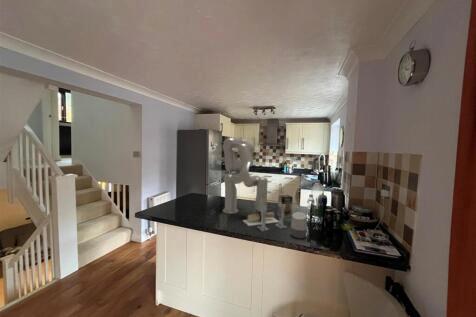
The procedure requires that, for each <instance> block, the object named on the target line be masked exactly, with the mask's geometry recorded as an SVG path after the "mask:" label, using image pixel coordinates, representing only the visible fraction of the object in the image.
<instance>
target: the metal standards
mask: <svg viewBox="0 0 476 317" xmlns="http://www.w3.org/2000/svg"><path fill="white" fill-rule="evenodd" d="M285 206H286V204H282V202H277V208H278V207H280V213H279V216H278V221H279V222H276V223H275V226H276V227H278V228H279V229H285V228H288V226H287V225H286V224H285V223H284V219H285V218H284V209H285ZM260 208H261V225H256V226H257V229H258V230H259V231H261V232H264V231H269V228H268V227H267V226H266V224H265V216H266V213H267V211H268V205H267V206H264V204H260Z"/></svg>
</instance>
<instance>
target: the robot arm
mask: <svg viewBox="0 0 476 317" xmlns="http://www.w3.org/2000/svg"><path fill="white" fill-rule="evenodd" d="M234 149H237V152H238V155H239V158H240V159H238V158H236V154H235V152H234ZM222 150H223V153H224V167H225V170H226V171H227V172H229V173H226V174H225V175H224V178H223V180H224V195H225V196H224V208H223V209H222V212H223V213H225V214H228V215H229V214H230V215H231V214H237V213H239V209H238V208H237V205H238V204H237V195H238V189H237V186H236V185H237V184H238V185H239V184H242V183H243V184H244V187H246V188H251V187H256V196H255V204H254V208H255V210H257V211H256V212H257V213H256V214H260V213H261V208H260V204H264V206H267V207H268V199H267V198H268V178H267V177H262V176H258V175H252V176H251V175H250V167H251V165H252V164H253V163H254V159H253V153H254V152H255V146H254V144H253V143H251V142H250V141H248V140H246V139H245V138H241V137H228V138H226V139H225V140H223V144H222ZM267 213H268V212H266V214H267ZM258 220H259V219H258ZM260 221H261V216H260Z"/></svg>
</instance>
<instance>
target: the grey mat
mask: <svg viewBox="0 0 476 317" xmlns="http://www.w3.org/2000/svg"><path fill="white" fill-rule="evenodd" d="M242 221H243V223H244V224H246V226H248V227H251V226H252V227H255V226H261V221H260V219H259V220H258V219H257V220H248V219H242ZM274 223H275V224H277V223H279V219H276V218H275V217H273V218H265V225H267V224H274Z"/></svg>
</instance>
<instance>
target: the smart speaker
mask: <svg viewBox="0 0 476 317" xmlns="http://www.w3.org/2000/svg"><path fill="white" fill-rule="evenodd" d="M307 219H308V216H307V214H306V213H305V212H300V211H296V212H294V213H293V212H292V217H291V223H290V234H291V236H292V237H293V238H295V239H300V240H302V239H304V238H306V237H307V235H308V220H307Z"/></svg>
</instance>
